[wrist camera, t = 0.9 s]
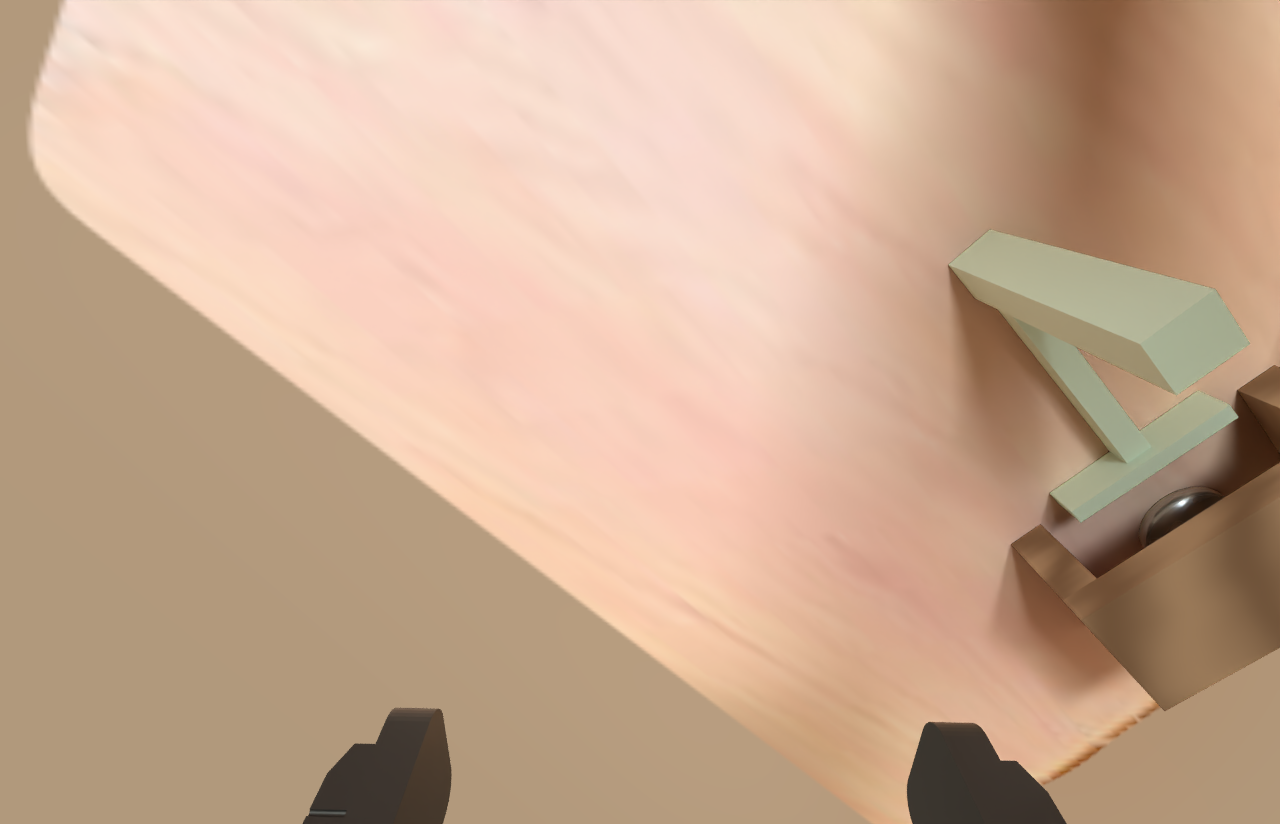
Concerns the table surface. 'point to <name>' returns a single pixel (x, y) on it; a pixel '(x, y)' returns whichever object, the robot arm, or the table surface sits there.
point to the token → (1175, 512)
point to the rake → (1109, 349)
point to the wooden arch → (1187, 583)
